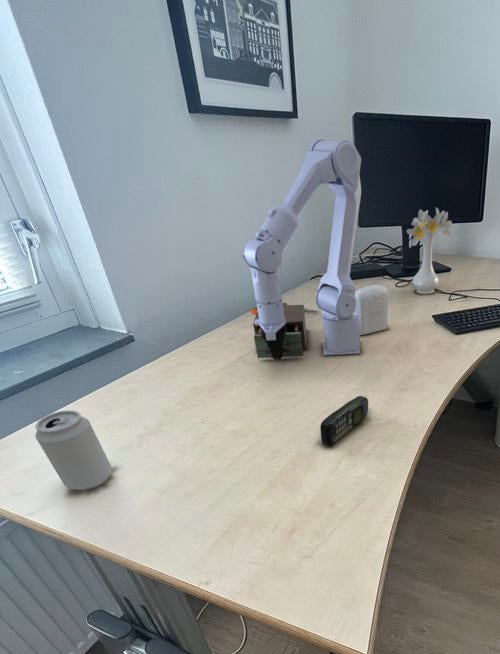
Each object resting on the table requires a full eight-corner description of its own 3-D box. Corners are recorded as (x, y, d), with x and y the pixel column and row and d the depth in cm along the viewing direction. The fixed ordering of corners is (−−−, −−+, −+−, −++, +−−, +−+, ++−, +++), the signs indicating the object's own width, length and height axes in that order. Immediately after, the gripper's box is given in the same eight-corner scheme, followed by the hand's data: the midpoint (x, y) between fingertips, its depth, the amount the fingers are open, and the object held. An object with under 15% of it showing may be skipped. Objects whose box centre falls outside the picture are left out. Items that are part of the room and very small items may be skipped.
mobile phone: (329, 427, 77) (374, 391, 87) (315, 422, 79) (361, 387, 88) (331, 449, 81) (374, 412, 90) (318, 445, 82) (362, 408, 91)
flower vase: (400, 298, 148) (403, 214, 133) (414, 283, 162) (418, 205, 146) (438, 302, 145) (445, 215, 129) (449, 286, 158) (457, 206, 142)
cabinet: (305, 350, 116) (302, 321, 111) (258, 352, 115) (253, 323, 110) (306, 331, 126) (303, 304, 121) (262, 333, 125) (258, 306, 121)
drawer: (302, 362, 107) (299, 340, 104) (256, 365, 107) (251, 342, 103) (303, 337, 120) (301, 316, 117) (262, 339, 120) (258, 318, 116)
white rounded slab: (381, 325, 129) (381, 281, 121) (389, 329, 126) (390, 284, 119) (352, 332, 125) (350, 287, 117) (360, 337, 122) (358, 291, 114)
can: (77, 467, 77) (44, 408, 70) (120, 464, 78) (92, 405, 70) (57, 495, 71) (19, 434, 64) (104, 492, 72) (71, 431, 64)
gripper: (254, 291, 102) (264, 347, 110) (247, 312, 91) (258, 372, 99) (284, 290, 102) (291, 345, 111) (281, 310, 91) (289, 370, 100)
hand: (278, 358), depth 105 cm, fingers closed
